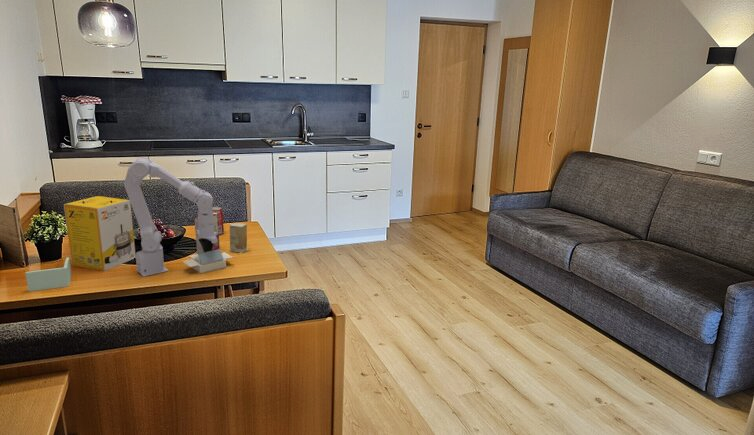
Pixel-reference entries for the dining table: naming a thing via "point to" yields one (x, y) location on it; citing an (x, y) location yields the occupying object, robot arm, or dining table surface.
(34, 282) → the l-shaped corner panel
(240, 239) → the skincare box
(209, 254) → the flap
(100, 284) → the dining table surface
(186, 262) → the carton
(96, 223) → the packaging box
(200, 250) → the candy bar box
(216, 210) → the soda can
